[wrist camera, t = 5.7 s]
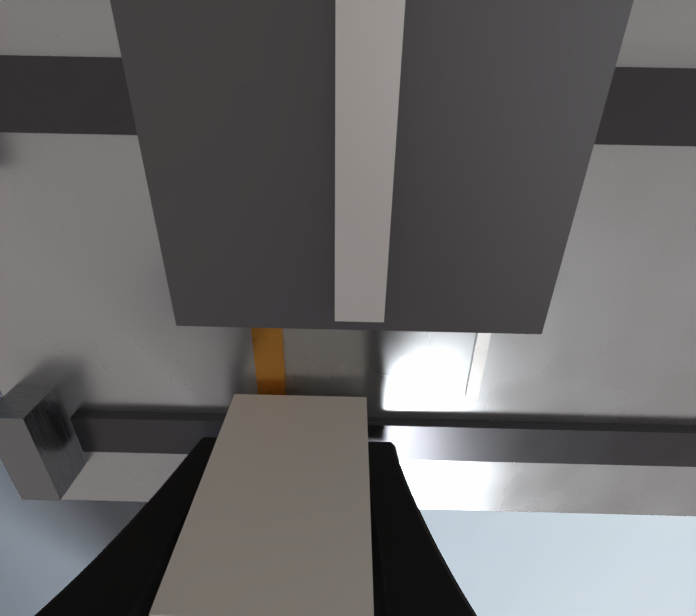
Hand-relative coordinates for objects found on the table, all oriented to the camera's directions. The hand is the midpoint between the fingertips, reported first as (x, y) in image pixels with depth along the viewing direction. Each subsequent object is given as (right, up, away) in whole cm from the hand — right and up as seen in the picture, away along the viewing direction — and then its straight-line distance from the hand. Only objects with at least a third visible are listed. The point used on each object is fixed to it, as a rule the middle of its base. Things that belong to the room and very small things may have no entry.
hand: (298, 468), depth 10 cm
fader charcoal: (+1, +7, -3) cm, 8 cm away
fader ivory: (0, 0, +1) cm, 1 cm away
